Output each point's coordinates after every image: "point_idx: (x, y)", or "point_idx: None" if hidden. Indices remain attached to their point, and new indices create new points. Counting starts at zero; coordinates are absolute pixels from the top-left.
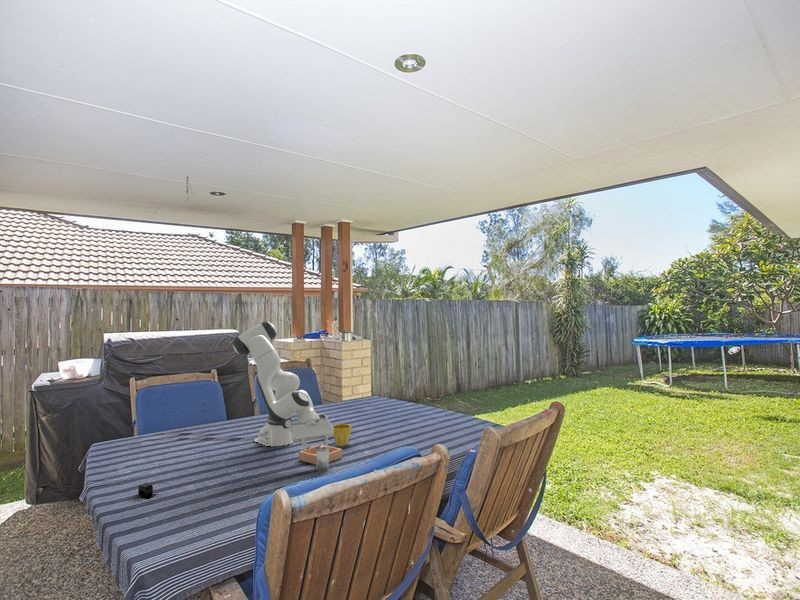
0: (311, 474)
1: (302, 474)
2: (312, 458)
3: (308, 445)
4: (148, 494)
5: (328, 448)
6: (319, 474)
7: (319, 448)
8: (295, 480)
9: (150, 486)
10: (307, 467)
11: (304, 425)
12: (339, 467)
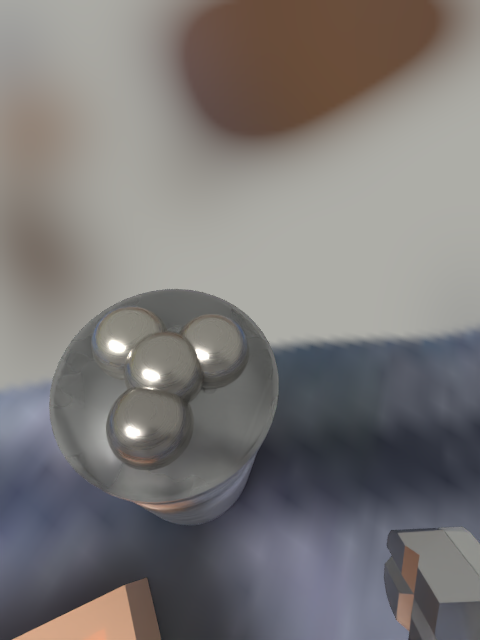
0: (320, 395)
1: (389, 437)
2: None
3: (424, 560)
4: None
5: (106, 311)
6: None
7: (244, 335)
8: (454, 351)
9: None
10: (300, 621)
11: None
12: (46, 415)
